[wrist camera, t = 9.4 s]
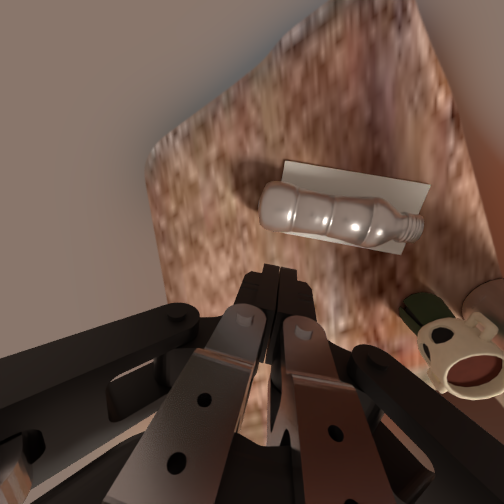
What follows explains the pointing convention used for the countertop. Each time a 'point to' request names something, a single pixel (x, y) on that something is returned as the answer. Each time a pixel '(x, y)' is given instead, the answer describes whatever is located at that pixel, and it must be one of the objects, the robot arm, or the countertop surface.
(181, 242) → the countertop surface
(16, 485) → the robot arm
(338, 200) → the plastic bottle
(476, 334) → the character mug
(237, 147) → the countertop surface
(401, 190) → the mat
